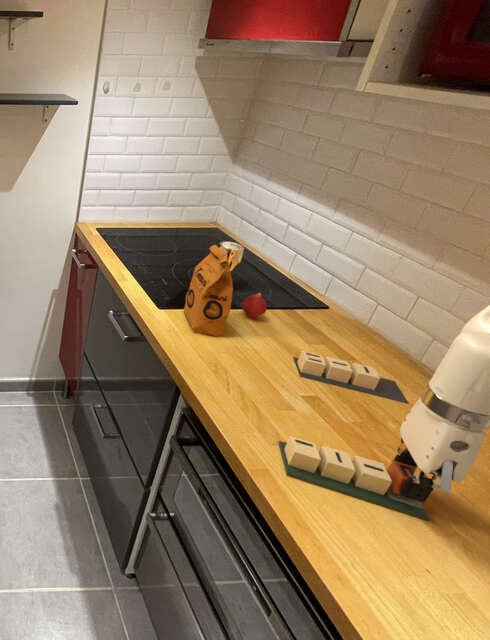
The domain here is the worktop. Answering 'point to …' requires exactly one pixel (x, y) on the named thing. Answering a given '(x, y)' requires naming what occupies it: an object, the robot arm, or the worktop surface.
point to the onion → (254, 305)
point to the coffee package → (210, 294)
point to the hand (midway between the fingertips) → (405, 485)
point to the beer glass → (232, 255)
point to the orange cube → (400, 474)
